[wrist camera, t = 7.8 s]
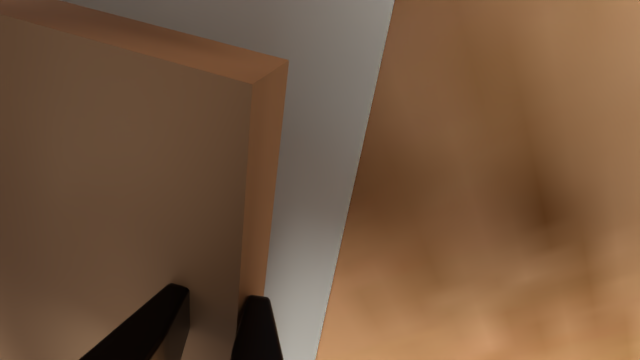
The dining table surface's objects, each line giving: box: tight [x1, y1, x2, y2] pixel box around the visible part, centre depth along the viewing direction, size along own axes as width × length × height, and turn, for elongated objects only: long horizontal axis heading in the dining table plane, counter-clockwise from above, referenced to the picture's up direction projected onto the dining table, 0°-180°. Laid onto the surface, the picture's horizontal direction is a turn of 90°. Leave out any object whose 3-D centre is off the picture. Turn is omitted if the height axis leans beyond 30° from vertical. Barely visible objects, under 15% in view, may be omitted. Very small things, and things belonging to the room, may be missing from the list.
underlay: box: [60, 0, 395, 360], centre depth 15 cm, size 12×26×1 cm, turn 172°
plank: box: [0, 0, 289, 360], centre depth 10 cm, size 10×11×1 cm
